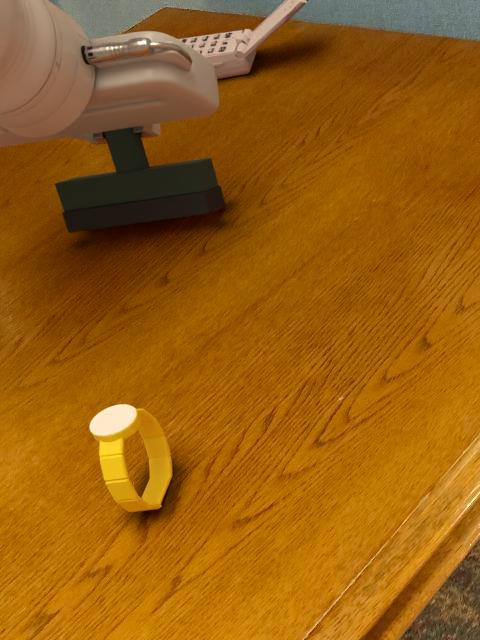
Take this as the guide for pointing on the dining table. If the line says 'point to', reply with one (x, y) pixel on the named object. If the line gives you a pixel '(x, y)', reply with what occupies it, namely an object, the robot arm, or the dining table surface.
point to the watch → (111, 434)
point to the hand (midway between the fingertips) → (128, 130)
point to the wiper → (138, 189)
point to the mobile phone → (241, 42)
